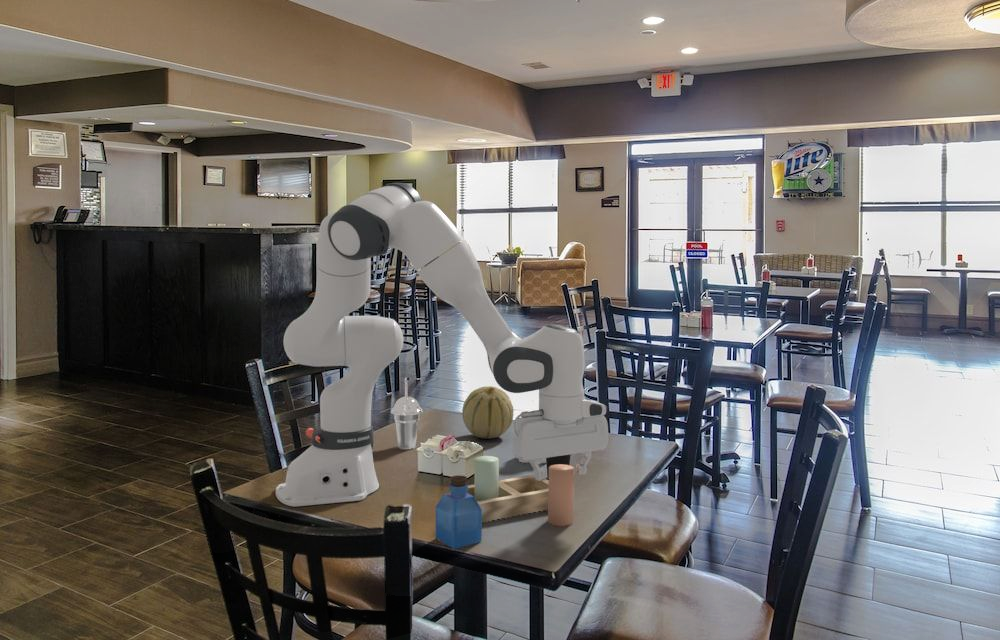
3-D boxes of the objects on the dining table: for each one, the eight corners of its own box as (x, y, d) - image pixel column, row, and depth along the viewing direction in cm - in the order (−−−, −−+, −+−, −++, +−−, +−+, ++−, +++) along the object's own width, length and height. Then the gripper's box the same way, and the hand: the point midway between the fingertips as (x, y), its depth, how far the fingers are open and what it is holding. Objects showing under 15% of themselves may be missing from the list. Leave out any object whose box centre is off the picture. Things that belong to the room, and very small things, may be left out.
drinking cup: (565, 472, 183) (566, 390, 180) (579, 481, 176) (581, 397, 173) (536, 475, 180) (537, 393, 178) (549, 485, 173) (550, 399, 171)
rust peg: (556, 528, 148) (557, 473, 146) (543, 519, 152) (544, 466, 151) (577, 523, 150) (578, 469, 149) (564, 515, 154) (565, 463, 153)
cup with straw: (427, 444, 207) (426, 372, 204) (415, 453, 198) (415, 378, 196) (398, 441, 209) (397, 370, 207) (385, 450, 200) (384, 376, 198)
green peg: (481, 516, 153) (481, 464, 152) (470, 509, 158) (470, 457, 156) (502, 512, 156) (503, 460, 154) (491, 505, 160) (491, 454, 159)
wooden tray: (474, 524, 149) (474, 504, 149) (451, 506, 159) (451, 488, 158) (563, 507, 159) (564, 488, 159) (536, 491, 169) (537, 474, 168)
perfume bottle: (453, 549, 137) (453, 485, 136) (435, 538, 142) (435, 476, 141) (481, 541, 141) (481, 479, 140) (463, 531, 146) (463, 470, 145)
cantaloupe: (489, 428, 224) (489, 378, 222) (524, 438, 213) (524, 385, 212) (450, 437, 214) (450, 385, 212) (485, 447, 203) (485, 393, 202)
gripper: (522, 416, 140) (522, 488, 141) (613, 405, 149) (612, 473, 151) (506, 409, 146) (506, 479, 147) (595, 399, 155) (594, 465, 156)
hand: (560, 476), depth 149 cm, fingers open, 8 cm apart
